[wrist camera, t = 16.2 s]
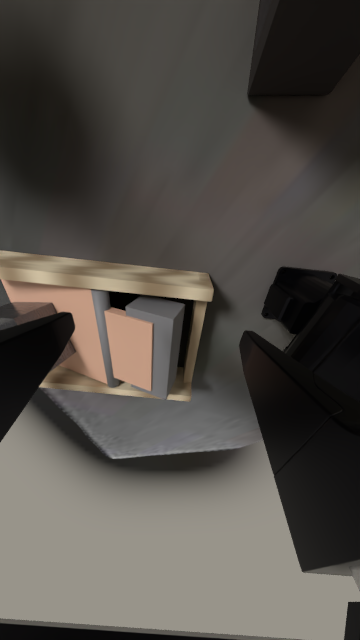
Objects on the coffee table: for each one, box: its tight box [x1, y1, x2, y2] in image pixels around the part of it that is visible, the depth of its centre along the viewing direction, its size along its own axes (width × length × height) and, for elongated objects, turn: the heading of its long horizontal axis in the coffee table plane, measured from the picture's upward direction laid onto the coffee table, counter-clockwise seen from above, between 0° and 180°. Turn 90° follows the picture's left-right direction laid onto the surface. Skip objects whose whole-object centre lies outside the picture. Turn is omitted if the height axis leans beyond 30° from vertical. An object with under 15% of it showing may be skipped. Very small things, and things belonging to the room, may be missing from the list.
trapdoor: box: [1, 279, 185, 400], centre depth 23 cm, size 22×14×4 cm, turn 84°
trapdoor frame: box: [0, 251, 214, 401], centre depth 23 cm, size 26×17×5 cm, turn 84°
